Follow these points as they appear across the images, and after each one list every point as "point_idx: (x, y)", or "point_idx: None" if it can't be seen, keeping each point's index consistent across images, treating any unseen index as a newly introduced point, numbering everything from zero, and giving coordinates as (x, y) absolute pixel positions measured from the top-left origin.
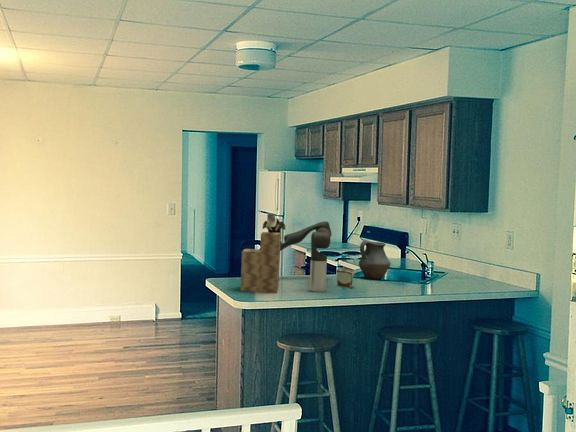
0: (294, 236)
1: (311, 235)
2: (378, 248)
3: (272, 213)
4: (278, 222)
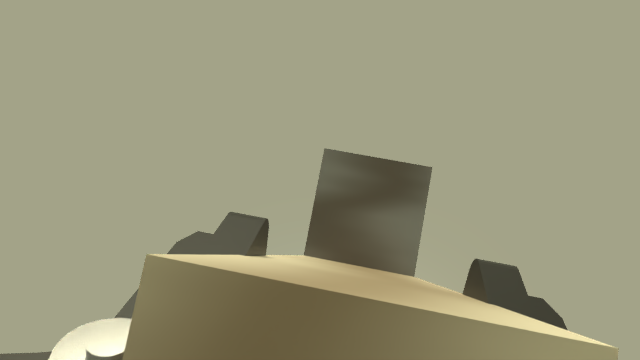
0: None
1: None
2: None
3: (369, 157)
4: None
